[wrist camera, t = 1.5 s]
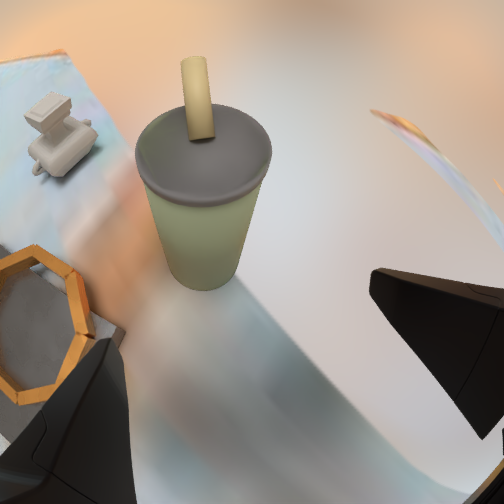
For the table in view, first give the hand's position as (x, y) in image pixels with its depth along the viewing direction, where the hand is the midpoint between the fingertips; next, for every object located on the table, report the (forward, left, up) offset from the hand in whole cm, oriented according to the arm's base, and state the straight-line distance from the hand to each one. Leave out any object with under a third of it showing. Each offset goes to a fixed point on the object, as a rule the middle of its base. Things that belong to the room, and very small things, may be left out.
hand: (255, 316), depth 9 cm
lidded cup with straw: (+5, -6, -13) cm, 16 cm away
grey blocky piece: (+25, -10, -14) cm, 30 cm away
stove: (+17, +10, -13) cm, 24 cm away
